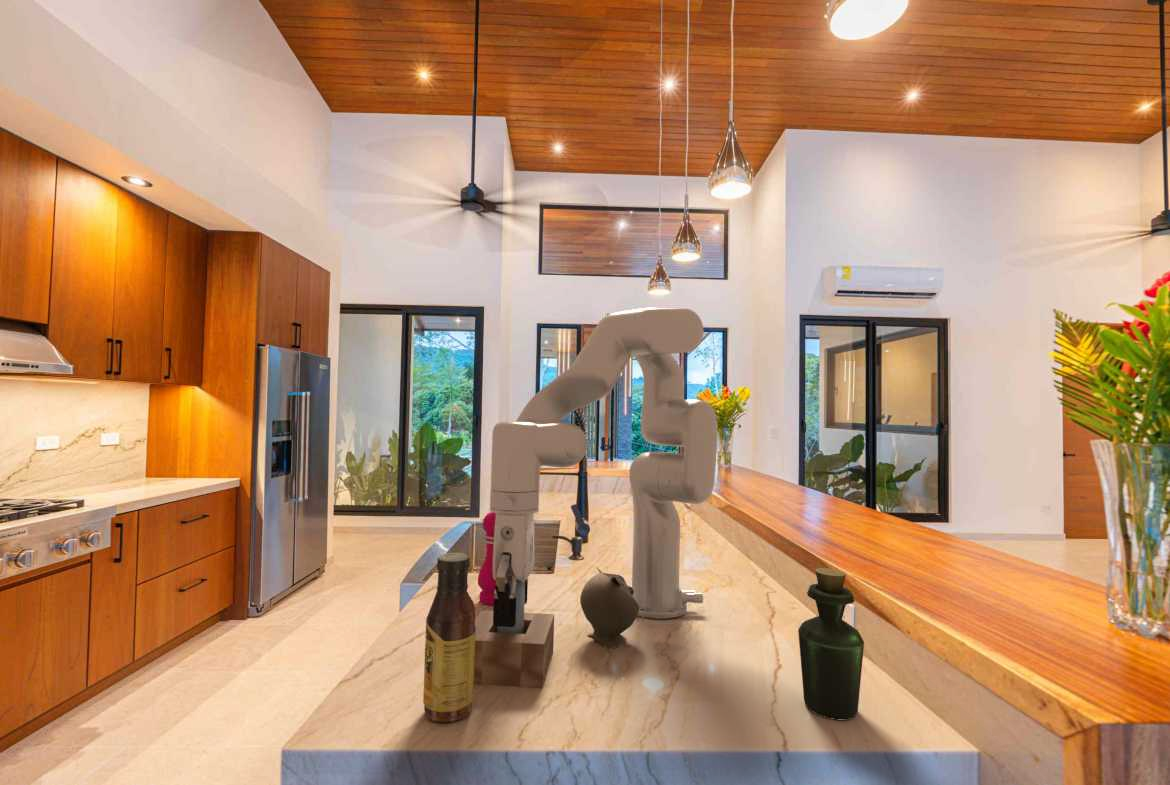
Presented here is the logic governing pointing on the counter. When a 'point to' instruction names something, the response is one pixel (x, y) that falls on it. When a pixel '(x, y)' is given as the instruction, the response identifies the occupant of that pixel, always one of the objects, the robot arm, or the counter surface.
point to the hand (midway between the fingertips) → (511, 614)
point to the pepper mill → (488, 563)
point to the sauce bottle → (450, 643)
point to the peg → (517, 610)
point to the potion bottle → (831, 650)
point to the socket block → (513, 651)
